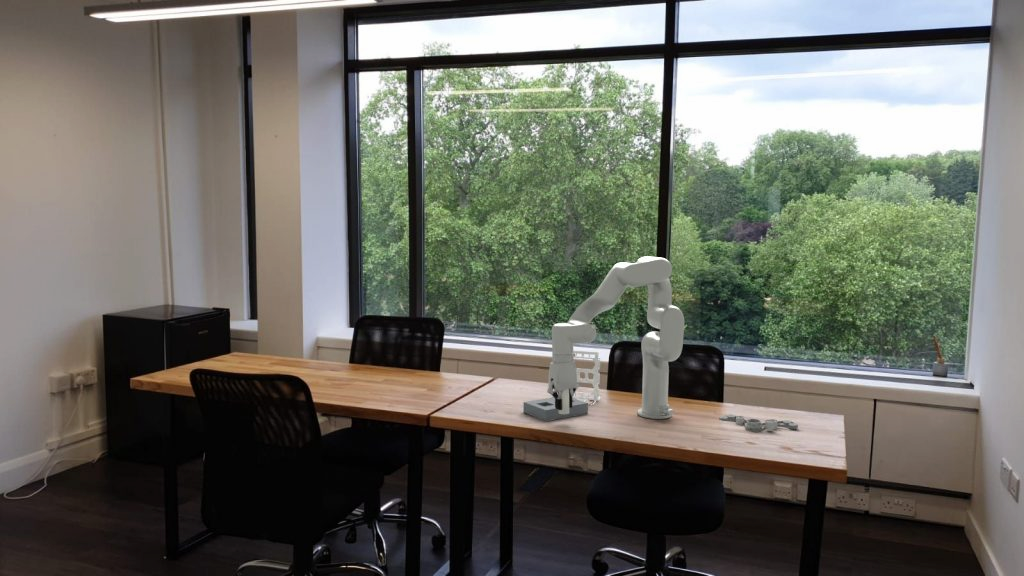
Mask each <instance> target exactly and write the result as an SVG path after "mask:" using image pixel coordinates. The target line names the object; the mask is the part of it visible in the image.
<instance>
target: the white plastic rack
mask: <svg viewBox="0 0 1024 576" xmlns="http://www.w3.org/2000/svg"><path fill="white" fill-rule="evenodd" d="M573 353H575V357H573V359H574V358H575V359H586V360H587V359H588V360H592V361H593V363H594V366H593V367H592V368H591V369H590V368H578V367H576V372H577V382H578V383H584V384H585V383H586V384H592V386H593V388H594V389H593V391H591V392H592V393H591V392H589V393H587V392H580V391H575V393H574V396H573V397H572V398H574V399H578V400H584V402H585V401H586V400H596V401H597V402H600V400H601V399H602V398H601V396H600V387H599V385H600V381H601V379H600V377H601V373H600V372H599V370H600V369H601V358H600V357H599V352H598V351H597V352H596V351H583V350H582V351H581V350H573ZM578 355H581V356H578ZM585 355H588V357H587V356H585ZM591 355H594V357H591ZM581 373H583V374H584V378H581V376H580V375H581ZM589 374H592V375H593V377H592V379H591V378H590V379H589ZM577 395H580V396H577ZM584 395H587V396H586V397H585V396H584ZM590 396H593V397H590ZM596 401H595V402H596ZM595 402H594V403H595ZM597 402H596V403H597ZM594 403H593V405H592V404H591V405H590V406H594V405H595V404H596V403H595V404H594Z"/></svg>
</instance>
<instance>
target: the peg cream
mask: <svg viewBox="0 0 1024 576" xmlns="http://www.w3.org/2000/svg"><path fill="white" fill-rule="evenodd" d="M560 399H562V410H558V413H559V414H569V389H565V390H562V391H561V398H560Z"/></svg>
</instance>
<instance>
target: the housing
mask: <svg viewBox="0 0 1024 576" xmlns="http://www.w3.org/2000/svg"><path fill="white" fill-rule="evenodd" d="M588 403H589V402H588V401H587V402H584V401H581V400H578V399H574V398H572V408H570V407H569V414H559V413H558V409H556V408H555V398H554V397H553V396H551V397H547V398H546V397H545V398H540V399H535V400H534V399H533V400H527V401H523V408H522V409H523V413H524V414H526V413H527V415H530V416H532V417H534V418H537V419H539V420H542V421H545V422H549V421H553V420H558V419H559V420H560V419H563V418H569V417H570V416H571V417H575V415H576V416H580V414H582V415H586V414H585V413H587V414H589V405H588Z"/></svg>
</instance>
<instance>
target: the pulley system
mask: <svg viewBox="0 0 1024 576" xmlns="http://www.w3.org/2000/svg"><path fill="white" fill-rule="evenodd" d="M718 418H719V420H721V421H726V422H734V423H735V424H737V425H741V426H742V425H744V428H745V430H747V431H748V432H755V433H756V432H757V433H758V432H763V431H764V430H769V431H773V430H777V429H778V428H787V429H790V430H796V429H798V428H799V427H798V426H799V424H797V423H796V422H794V421H792V420H789V419H784V420H779V421H778V420H777V419H775V418H774V419H773V418H771V419H766V420H765V421H764V422H762V420H761V419H758V418H748V419H745V417H744V416H742V415H735V414H727V415H720V416H719V417H718ZM763 426H764V427H763Z"/></svg>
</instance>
